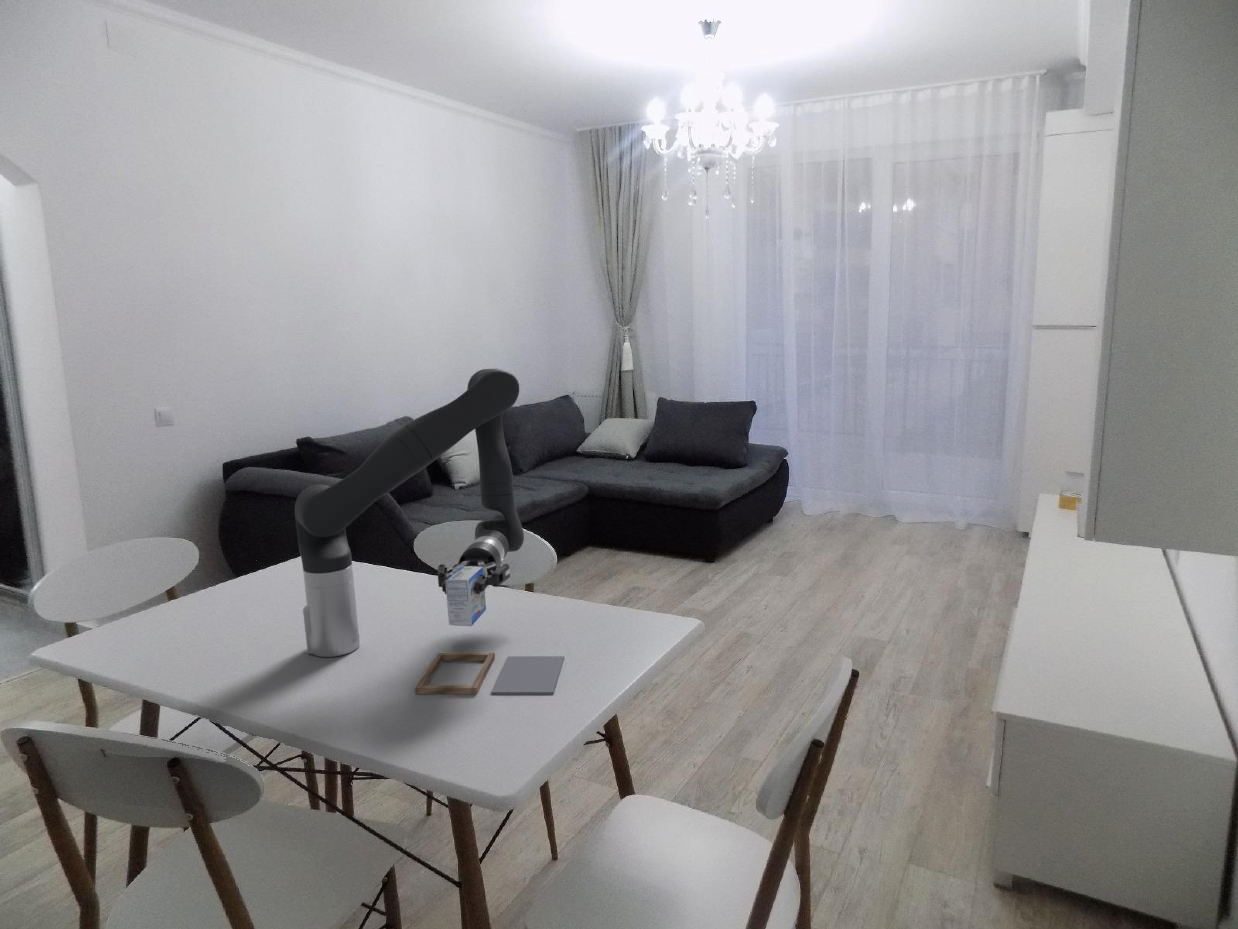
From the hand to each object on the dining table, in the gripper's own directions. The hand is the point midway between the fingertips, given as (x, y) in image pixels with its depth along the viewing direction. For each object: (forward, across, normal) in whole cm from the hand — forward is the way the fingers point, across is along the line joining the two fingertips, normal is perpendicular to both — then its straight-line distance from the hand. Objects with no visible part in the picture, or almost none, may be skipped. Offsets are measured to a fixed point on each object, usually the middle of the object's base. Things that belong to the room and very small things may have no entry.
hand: (461, 588), depth 147 cm
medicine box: (-3, 0, +7) cm, 7 cm away
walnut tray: (-2, -3, +18) cm, 18 cm away
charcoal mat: (-2, +11, +18) cm, 21 cm away
